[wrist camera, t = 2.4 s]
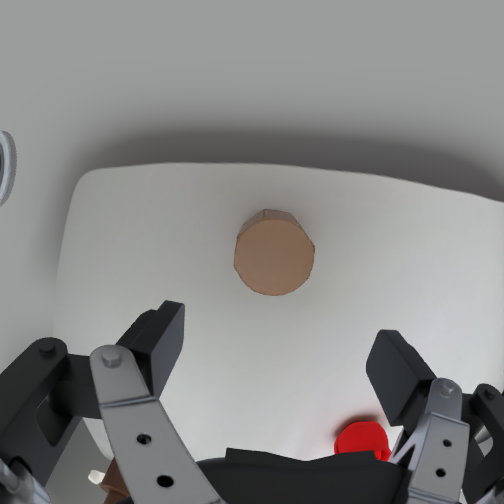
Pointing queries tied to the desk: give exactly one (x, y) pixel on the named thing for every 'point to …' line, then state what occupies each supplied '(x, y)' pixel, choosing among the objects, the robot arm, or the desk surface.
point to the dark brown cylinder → (114, 484)
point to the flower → (364, 439)
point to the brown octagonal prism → (273, 253)
